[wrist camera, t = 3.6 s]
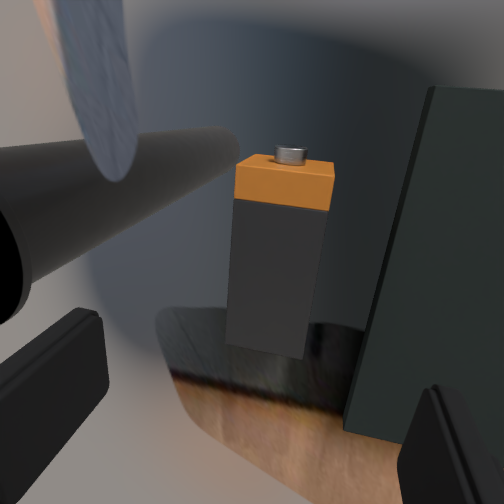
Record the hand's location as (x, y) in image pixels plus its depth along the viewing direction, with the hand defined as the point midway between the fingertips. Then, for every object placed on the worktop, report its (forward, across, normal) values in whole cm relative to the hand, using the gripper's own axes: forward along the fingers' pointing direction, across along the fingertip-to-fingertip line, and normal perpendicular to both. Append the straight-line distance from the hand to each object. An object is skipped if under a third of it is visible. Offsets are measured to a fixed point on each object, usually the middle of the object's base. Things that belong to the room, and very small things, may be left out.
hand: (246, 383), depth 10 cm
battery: (+12, +1, 0) cm, 12 cm away
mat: (+12, -11, +2) cm, 17 cm away
